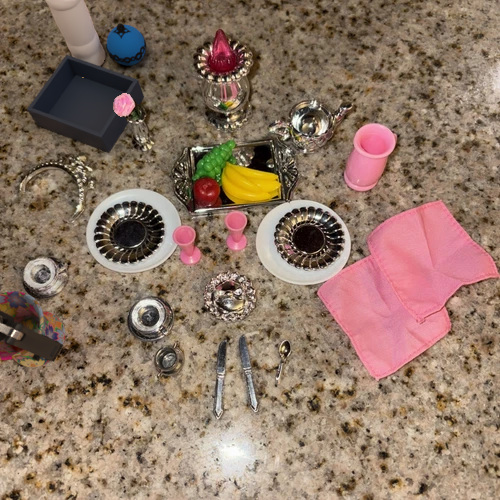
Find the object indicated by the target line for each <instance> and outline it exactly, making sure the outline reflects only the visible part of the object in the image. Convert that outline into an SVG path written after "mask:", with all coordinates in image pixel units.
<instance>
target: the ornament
mask: <svg viewBox="0 0 500 500" xmlns="http://www.w3.org/2000/svg"><path fill="white" fill-rule="evenodd" d="M105 48H106V52H107V53H108V56H109V58H110V59H111V60H112V61H113V62H116V63H118V64H119V65H121V66H127V67H128V66H129V67H130V66H134V65H136V64H138V63H140V61H142V60H143V58H144V56H145V54H146V48H147V42H146V38H145V36H144V35H143V33H142V32H141V31H140V30H139V29H138V28H137V27H134V26H133V25H130V24H123V23H121V22H119V23H118V24H117V25H116V26H115V27H113V28H112V29H111V31H109V33H108V35H107V38H106V44H105Z"/></svg>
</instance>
